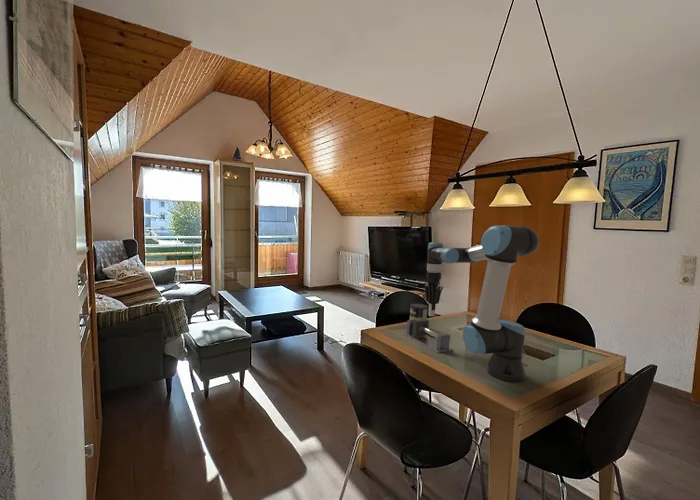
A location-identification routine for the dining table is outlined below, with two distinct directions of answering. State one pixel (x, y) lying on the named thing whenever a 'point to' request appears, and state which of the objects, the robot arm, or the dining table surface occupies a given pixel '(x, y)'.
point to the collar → (416, 327)
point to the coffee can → (418, 311)
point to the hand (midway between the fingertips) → (431, 315)
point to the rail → (427, 341)
